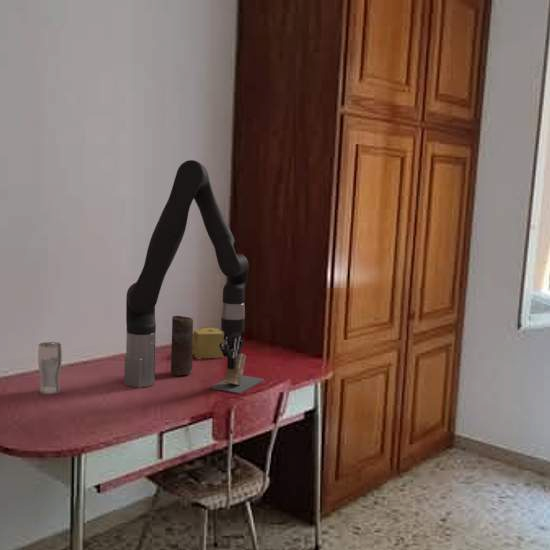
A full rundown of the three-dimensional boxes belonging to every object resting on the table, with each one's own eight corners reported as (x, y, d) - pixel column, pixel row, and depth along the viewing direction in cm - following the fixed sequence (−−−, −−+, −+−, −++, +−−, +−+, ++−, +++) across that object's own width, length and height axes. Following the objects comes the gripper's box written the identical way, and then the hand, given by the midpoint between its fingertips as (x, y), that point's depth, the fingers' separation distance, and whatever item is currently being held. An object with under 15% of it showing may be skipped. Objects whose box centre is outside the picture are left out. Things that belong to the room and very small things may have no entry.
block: (234, 384, 231) (241, 352, 233) (224, 382, 233) (230, 351, 235) (240, 385, 235) (246, 354, 237) (229, 383, 237) (235, 353, 239)
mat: (239, 393, 227) (239, 392, 227) (209, 388, 232) (209, 387, 232) (264, 380, 243) (264, 379, 243) (235, 375, 248) (235, 374, 248)
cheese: (190, 353, 276) (191, 327, 274) (218, 352, 279) (218, 327, 277) (196, 360, 266) (196, 333, 264) (224, 359, 269) (225, 333, 268)
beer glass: (62, 388, 225) (63, 341, 223) (60, 394, 219) (60, 347, 216) (39, 388, 224) (39, 341, 222) (36, 395, 217) (36, 347, 215)
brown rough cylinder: (175, 369, 251) (176, 314, 248) (195, 371, 250) (196, 315, 247) (167, 375, 244) (168, 318, 241) (188, 377, 242) (189, 320, 240)
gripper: (233, 321, 222) (231, 375, 224) (252, 314, 234) (251, 365, 236) (212, 318, 225) (210, 371, 228) (232, 311, 237) (231, 362, 239)
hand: (231, 368), depth 232 cm, fingers closed
